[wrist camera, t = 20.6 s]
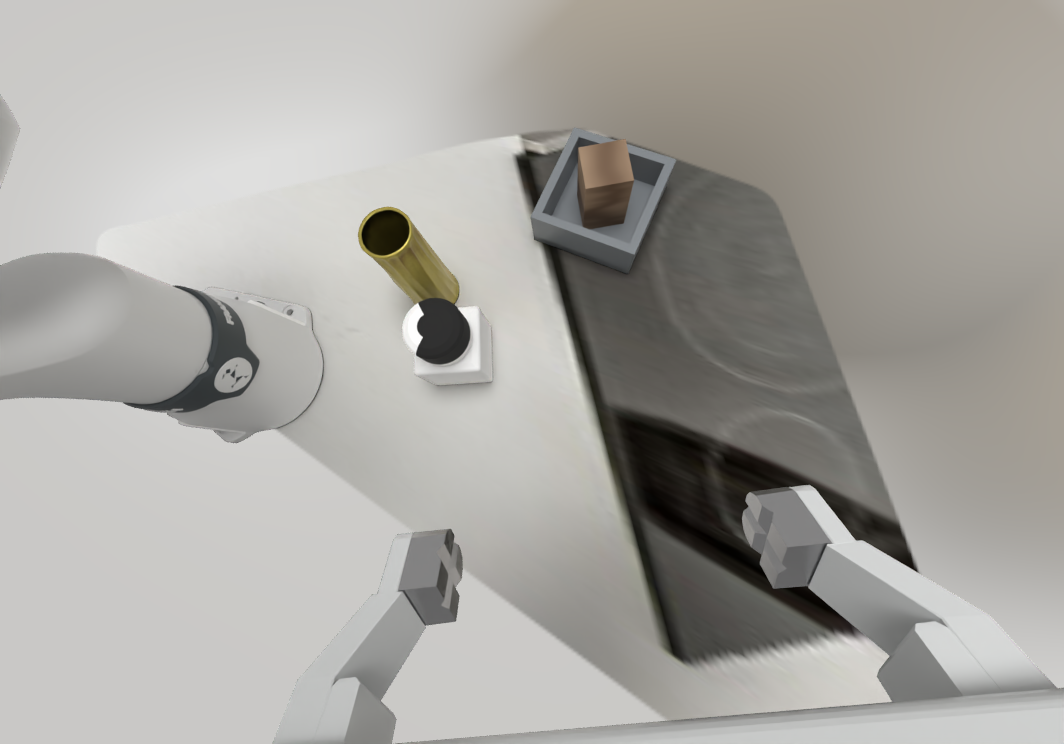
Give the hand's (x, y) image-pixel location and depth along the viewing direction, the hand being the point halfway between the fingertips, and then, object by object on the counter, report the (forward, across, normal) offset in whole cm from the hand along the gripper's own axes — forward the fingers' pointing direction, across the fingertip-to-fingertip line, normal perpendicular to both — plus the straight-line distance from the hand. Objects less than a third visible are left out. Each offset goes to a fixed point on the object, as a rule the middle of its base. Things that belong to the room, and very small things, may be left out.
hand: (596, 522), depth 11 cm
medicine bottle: (+35, +12, +14) cm, 39 cm away
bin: (+46, -8, +3) cm, 47 cm away
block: (+45, -8, +2) cm, 46 cm away
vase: (+41, +14, +8) cm, 44 cm away
